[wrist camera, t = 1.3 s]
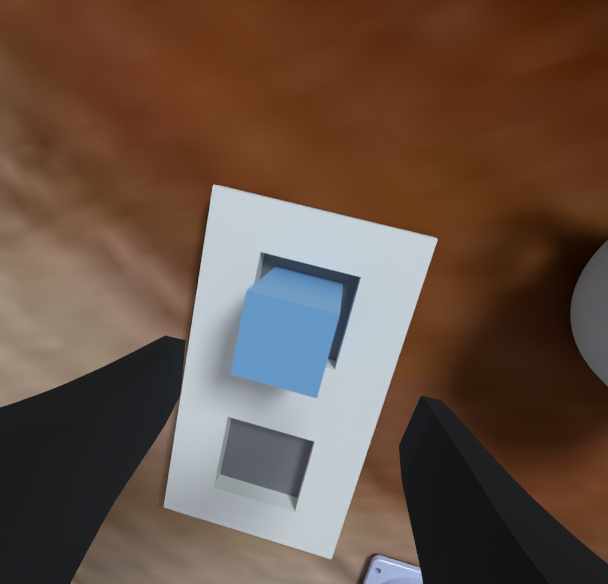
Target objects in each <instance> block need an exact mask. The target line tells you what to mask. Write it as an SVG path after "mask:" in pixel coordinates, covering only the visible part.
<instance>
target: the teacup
mask: <svg viewBox="0 0 608 584" xmlns="http://www.w3.org/2000/svg"><path fill="white" fill-rule="evenodd" d="M570 319H571V327H572V333H573V336H574V339H575V342H576V345H577V347H578V349H579V351H580V353H581V355H582V356H583V358H584V360H585V361H586V362H587V364H588V365H589V367H590V368H591V369H592V370H593V372H594V373H595V374H596V375H597V376H598V377H599V378H600V379H601V380H602V381H603V382H604V383H605V384H606V385H607V386H608V240H607V241H606V242H605V243H604V244H603V245H602V246H601V247H600V248H599V249H598V250H597V251H596V253H595V254H594V255H593V256H592V258H591V259H590V260H589V262H588V263H587V265H586V266H585V268H584V269H583V271H582V273H581V275H580V277H579V279H578V281H577V284H576V286H575V289H574V292H573V297H572V301H571V312H570Z"/></svg>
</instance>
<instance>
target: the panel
mask: <svg viewBox="0 0 608 584" xmlns="http://www.w3.org/2000/svg"><path fill="white" fill-rule="evenodd" d="M437 240H438V239H437V238H434V237H432V236H428V235H424V234H420V233H416V232H412V231H407V230H403V229H399V228H395V227H391V226H387V225H383V224H378V223H374V222H370V221H366V220H362V219H358V218H354V217H349V216H345V215H341V214H337V213H333V212H329V211H325V210H320V209H316V208H312V207H308V206H304V205H300V204H296V203H291V202H287V201H283V200H279V199H275V198H271V197H267V196H262V195H258V194H254V193H250V192H246V191H242V190H238V189H233V188H229V187H225V186H219V185H213V188H212V195H211V201H210V208H209V214H208V221H207V227H206V234H205V240H204V247H203V253H202V260H201V266H200V273H199V279H198V286H197V293H196V299H195V306H194V312H193V319H192V325H191V332H190V338H189V345H188V351H187V358H186V364H185V371H184V377H183V384H182V390H181V397H180V403H179V410H178V417H177V423H176V430H175V436H174V443H173V449H172V456H171V462H170V469H169V475H168V482H167V488H166V495H165V501H164V508H167V509H170V510H174V511H177V512H180V513H183V514H187V515H190V516H193V517H196V518H200V519H203V520H206V521H209V522H212V523H216V524H219V525H222V526H225V527H229V528H232V529H235V530H238V531H242V532H245V533H248V534H251V535H254V536H258V537H261V538H264V539H267V540H271V541H274V542H277V543H280V544H284V545H287V546H290V547H293V548H296V549H300V550H303V551H306V552H309V553H313V554H316V555H319V556H322V557H326V558H329V559H332V556H333V553H334V550H335V547H336V544H337V541H338V538H339V535H340V532H341V529H342V526H343V523H344V520H345V517H346V514H347V511H348V508H349V505H350V502H351V499H352V496H353V493H354V490H355V487H356V484H357V481H358V478H359V475H360V472H361V469H362V466H363V463H364V460H365V457H366V454H367V451H368V448H369V445H370V442H371V439H372V436H373V433H374V430H375V427H376V424H377V421H378V418H379V415H380V412H381V409H382V406H383V403H384V400H385V397H386V394H387V390H388V387H389V384H390V381H391V378H392V375H393V372H394V369H395V366H396V363H397V360H398V357H399V354H400V351H401V348H402V345H403V342H404V339H405V336H406V333H407V330H408V327H409V324H410V321H411V318H412V315H413V312H414V309H415V306H416V303H417V300H418V297H419V294H420V291H421V288H422V285H423V282H424V279H425V276H426V273H427V270H428V267H429V264H430V261H431V258H432V255H433V252H434V249H435V246H436V243H437ZM276 266H277V267H281V268H285V269H289V270H293V271H297V272H301V273H305V274H309V275H313V276H317V277H320V278H324V279H328V280H332V281H336V282H340V283H343V288H342V298H341V308H340V316H339V320H338V323H337V327H336V331H335V334H334V338H333V342H332V345H331V349H330V353H329V356H328V360H327V364H326V367H325V371H324V375H323V378H322V382H321V386H320V389H319V393H318V397H317V398H314V397H310V396H306V395H303V394H299V393H296V392H292V391H288V390H285V389H281V388H278V387H274V386H271V385H267V384H263V383H260V382H256V381H253V380H249V379H245V378H242V377H238V376H235V375H231V369H232V364H233V358H234V353H235V348H236V343H237V338H238V333H239V327H240V322H241V317H242V312H243V307H244V301H245V296H246V291H247V290H248V289H249V288H250V287H251V286H253V285H254V284H255V283H256V282H257V281H259V280H260V279H261V278H262V277H264V276H265V275H266V274H267V273H268V272H270V271H271V270H272V269H273V268H274V267H276Z"/></svg>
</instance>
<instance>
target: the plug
mask: <svg viewBox="0 0 608 584" xmlns="http://www.w3.org/2000/svg"><path fill="white" fill-rule="evenodd" d="M342 288H343V283H340V282H336V281H332V280H328V279H324V278H320V277H317V276H313V275H309V274H305V273H301V272H297V271H293V270H289V269H285V268H281V267H277V266H276V267H274V268H273V269H272V270H271V271H270V272H268V273H267V274H266V275H265V276H264V277H262V278H261V279H260V280H259V281H257V282H256V283H255V284H254V285H253V286H251V287H250V288H249V289H248V290H247V291H246V296H245V301H244V307H243V312H242V317H241V322H240V327H239V333H238V338H237V343H236V348H235V353H234V358H233V364H232V369H231V375H235V376H238V377H242V378H245V379H249V380H253V381H256V382H260V383H263V384H267V385H271V386H274V387H278V388H281V389H285V390H288V391H292V392H296V393H299V394H303V395H306V396H310V397H314V398H317V397H318V393H319V389H320V386H321V382H322V378H323V375H324V371H325V367H326V364H327V360H328V356H329V353H330V349H331V345H332V342H333V338H334V334H335V331H336V327H337V323H338V320H339V316H340V308H341V298H342Z"/></svg>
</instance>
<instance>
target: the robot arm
mask: <svg viewBox="0 0 608 584" xmlns="http://www.w3.org/2000/svg"><path fill="white" fill-rule="evenodd" d="M185 341H186V340H182V339H178V338H173V337H169V336H164V337H162V338H160V339H158V340H156V341H154V342H152V343H150V344H148V345H146V346H144V347H142V348H140V349H138V350H136V351H134V352H132V353H130V354H128V355H126V356H124V357H122V358H120V359H118V360H116V361H114V362H112V363H110V364H108V365H106V366H104V367H102V368H100V369H98V370H95V371H93V372H91V373H89V374H86V375H84V376H82V377H80V378H77V379H75V380H73V381H71V382H68V383H66V384H64V385H61V386H59V387H56V388H54V389H51V390H49V391H46V392H44V393H41V394H38V395H35V396H33V397H30V398H27V399H24V400H22V401H19V402H16V403H13V404H10V405H7V406H4V407H1V408H0V584H70V583H71V581H72V579H73V577H74V575H75V573H76V571H77V569H78V568H79V566H80V564H81V562H82V560H83V558H84V556H85V554H86V552H87V550H88V549H89V547H90V545H91V543H92V541H93V539H94V538H95V536H96V534H97V532H98V530H99V528H100V526H101V525H102V523H103V521H104V519H105V517H106V515H107V514H108V512H109V510H110V509H111V507H112V505H113V504H114V502H115V500H116V499H117V497H118V496H119V494H120V492H121V491H122V489H123V488H124V486H125V485H126V483H127V482H128V480H129V479H130V477H131V476H132V474H133V473H134V471H135V470H136V468H137V467H138V465H139V464H140V462H141V461H142V459H143V458H144V456H145V455H146V453H147V452H148V450H149V449H150V447H151V446H152V444H153V443H154V441H155V440H156V438H157V437H158V435H159V434H160V432H161V430H162V429H163V427H164V426H165V424H166V422H167V420H168V418H169V416H170V414H171V412H172V410H173V408H174V406H175V404H176V402H177V400H178V398H179V396H180V392H181V381H182V371H183V361H184V351H185ZM399 452H400V466H401V476H402V483H403V488H404V493H405V498H406V503H407V508H408V512H409V517H410V522H411V526H412V531H413V536H414V540H415V545H416V550H417V554H418V559H419V564H420V567H417V566H414V565H410V564H407V563H404V562H400V561H397V560H394V559H391V558H387V557H384V556H381V555H376V556H374V557H373V558H372V560H371V563H370V565H369V568H368V571H367V573H366V576H365V579H364V581H363V584H608V564H607V563H606V562H605V561H603V560H602V559H601V558H600V557H598V556H597V555H596V554H595V553H593V552H592V551H591V550H590V549H589V548H588V547H586V546H585V545H584V544H583V543H582V542H581V541H579V540H578V539H577V538H576V537H575V536H574V535H572V534H571V533H570V532H569V531H568V530H567V529H566V528H565V527H564V526H562V525H561V524H560V523H559V522H558V521H557V520H556V519H555V518H554V517H553V516H551V515H550V514H549V513H548V512H547V511H546V510H545V509H544V508H543V507H542V506H541V505H540V504H538V503H537V502H536V501H535V500H534V499H533V498H532V497H531V496H530V495H529V494H528V493H527V492H526V491H525V490H524V489H523V488H522V487H521V486H520V485H519V484H518V483H517V482H516V481H515V480H514V479H513V478H512V477H511V476H510V475H509V474H508V473H507V472H506V470H505V469H504V468H503V467H502V466H501V465H500V464H499V463H498V462H497V461H496V460H495V459H494V458H493V457H492V456H491V454H490V453H489V452H488V451H487V450H486V449H485V448H484V447H483V446H482V445H481V443H480V442H479V441H478V440H477V439H476V438H475V437H474V436H473V434H472V433H471V432H470V431H469V430H468V429H467V428H466V427H465V425H464V424H463V423H462V422H461V421H460V420H459V419H458V418H457V416H456V415H455V414H454V413H453V412H452V411H451V410H450V409H449V408H448V407H447V406H446V405H445V404H444V403H443V402H442V401H441V400H438V399H433V398H429V397H425V396H421V397H420V399H419V402H418V404H417V406H416V408H415V411H414V413H413V415H412V417H411V420H410V422H409V424H408V427H407V429H406V431H405V433H404V436H403V438H402V440H401V442H400V445H399Z"/></svg>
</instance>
